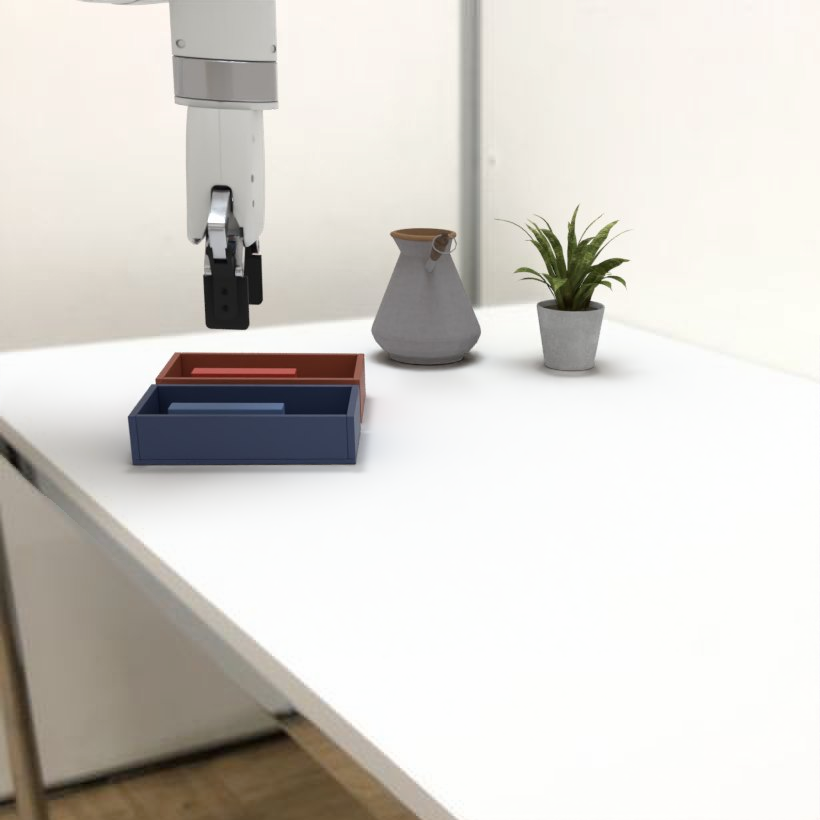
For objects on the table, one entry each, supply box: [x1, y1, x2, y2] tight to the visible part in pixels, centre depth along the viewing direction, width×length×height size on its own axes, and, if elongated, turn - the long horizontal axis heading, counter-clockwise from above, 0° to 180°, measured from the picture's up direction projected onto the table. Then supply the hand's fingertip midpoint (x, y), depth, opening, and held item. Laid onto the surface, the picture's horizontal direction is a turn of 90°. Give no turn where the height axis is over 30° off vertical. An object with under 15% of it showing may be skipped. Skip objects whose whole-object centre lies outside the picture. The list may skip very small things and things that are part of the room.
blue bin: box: [127, 383, 362, 466], centre depth 111 cm, size 17×10×4 cm, turn 97°
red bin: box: [154, 351, 367, 424], centre depth 122 cm, size 17×10×4 cm, turn 97°
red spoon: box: [191, 368, 297, 378], centre depth 122 cm, size 13×4×3 cm, turn 97°
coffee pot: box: [370, 227, 482, 365], centre depth 136 cm, size 21×12×15 cm, turn 14°
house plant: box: [495, 203, 634, 371], centre depth 139 cm, size 14×14×16 cm
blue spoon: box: [168, 403, 285, 415], centre depth 111 cm, size 13×4×3 cm, turn 97°
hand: (235, 315), depth 108 cm, fingers open, 9 cm apart
